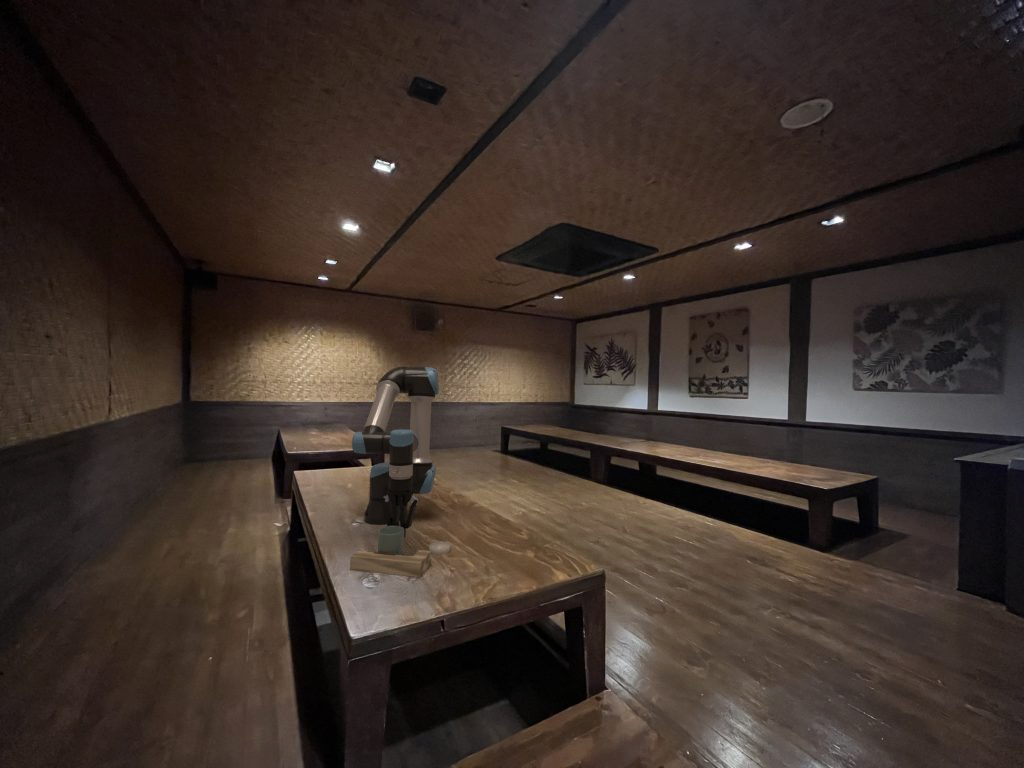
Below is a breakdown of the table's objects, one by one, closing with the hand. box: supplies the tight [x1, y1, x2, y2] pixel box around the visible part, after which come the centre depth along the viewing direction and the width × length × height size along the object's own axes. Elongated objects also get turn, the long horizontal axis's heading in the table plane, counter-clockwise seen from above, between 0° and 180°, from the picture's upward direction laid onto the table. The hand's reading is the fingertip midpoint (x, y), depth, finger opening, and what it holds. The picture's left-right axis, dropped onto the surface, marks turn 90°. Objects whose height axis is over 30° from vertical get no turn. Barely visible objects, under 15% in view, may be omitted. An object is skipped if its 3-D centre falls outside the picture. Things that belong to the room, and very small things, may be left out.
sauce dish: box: [428, 540, 451, 555], centre depth 135 cm, size 7×7×2 cm
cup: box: [377, 525, 405, 556], centre depth 125 cm, size 8×8×10 cm
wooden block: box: [349, 549, 432, 578], centre depth 121 cm, size 9×22×4 cm, turn 81°
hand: (398, 548), depth 130 cm, fingers closed
